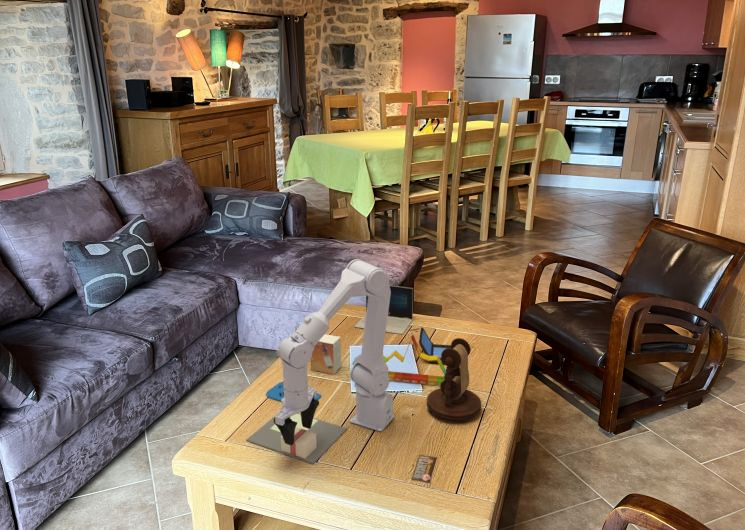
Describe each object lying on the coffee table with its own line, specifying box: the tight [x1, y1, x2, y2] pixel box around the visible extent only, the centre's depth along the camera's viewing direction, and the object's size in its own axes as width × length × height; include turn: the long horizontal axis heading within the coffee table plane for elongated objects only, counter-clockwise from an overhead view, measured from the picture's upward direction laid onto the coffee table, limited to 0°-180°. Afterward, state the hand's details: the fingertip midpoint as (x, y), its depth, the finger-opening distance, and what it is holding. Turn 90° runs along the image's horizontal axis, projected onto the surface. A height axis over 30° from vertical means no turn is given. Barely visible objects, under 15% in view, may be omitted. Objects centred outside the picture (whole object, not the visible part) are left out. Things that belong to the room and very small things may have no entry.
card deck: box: [281, 427, 317, 459], centre depth 149 cm, size 7×5×4 cm
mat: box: [245, 413, 348, 465], centre depth 156 cm, size 20×16×1 cm
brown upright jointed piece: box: [426, 337, 482, 424], centre depth 164 cm, size 15×15×20 cm
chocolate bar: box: [410, 454, 438, 484], centre depth 143 cm, size 11×5×1 cm, turn 164°
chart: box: [351, 333, 447, 387], centre depth 180 cm, size 30×3×15 cm, turn 78°
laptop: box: [354, 284, 414, 335], centre depth 217 cm, size 18×12×13 cm
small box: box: [310, 333, 342, 375], centre depth 187 cm, size 8×6×10 cm
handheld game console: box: [418, 327, 451, 366], centre depth 196 cm, size 12×11×7 cm
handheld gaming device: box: [265, 381, 322, 403], centre depth 174 cm, size 8×1×15 cm
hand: (298, 435), depth 148 cm, fingers open, 7 cm apart
